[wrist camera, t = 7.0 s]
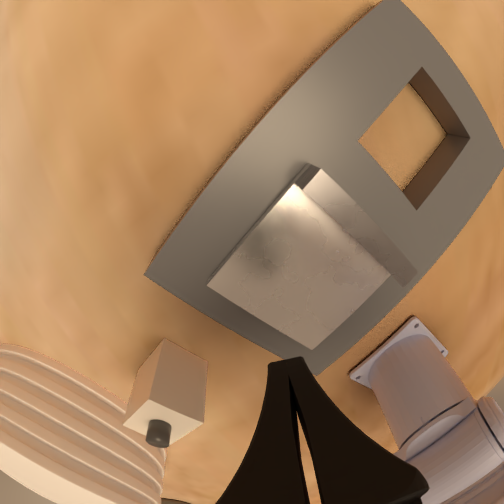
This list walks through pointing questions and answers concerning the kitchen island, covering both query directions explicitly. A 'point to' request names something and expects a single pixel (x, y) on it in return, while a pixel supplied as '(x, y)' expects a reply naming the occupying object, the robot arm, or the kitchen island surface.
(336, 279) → the block
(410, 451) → the robot arm
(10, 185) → the kitchen island surface
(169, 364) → the plug
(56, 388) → the plate stack
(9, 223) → the kitchen island surface
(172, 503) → the grey stone figurine
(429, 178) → the socket
